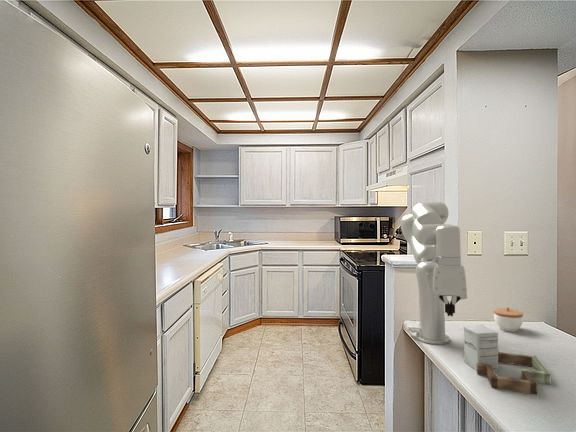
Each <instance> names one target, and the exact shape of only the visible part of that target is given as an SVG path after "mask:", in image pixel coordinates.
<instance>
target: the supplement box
mask: <svg viewBox="0 0 576 432" xmlns="http://www.w3.org/2000/svg"><path fill="white" fill-rule="evenodd" d="M463 349H464V350H463V355H464V356H463V358H464V363H465V364H466V365H469V366H470V367H471V368H472V369H474V370H475V371H477V363H480V364H488V365H491V366H492V368H493V370H498V371H499V362H498V352H499V333H498V332H497V331H496V330H493V329H491V328H489V327H487V326H485V325H484V324H478V325H477V324H476V325H464V326H463Z"/></svg>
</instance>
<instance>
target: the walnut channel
mask: <svg viewBox="0 0 576 432" xmlns="http://www.w3.org/2000/svg"><path fill="white" fill-rule="evenodd" d="M499 362H501V364H508V363H513V364H512V365H516V364H521V365H520V366H524V365H529V366H528V367H532V368H533V369H527V368H520V379H523V376H522V371H528V372H529V373H530V375H531V376H532V378H533V379H534V381H535V382H536V383H539V384H544V385H545V384H546V385H551V383H552V381H551V380H552V379H551V377H552V376H551V373H550V371H549V370H548V369H547V368H546V367H545V365H543V363H542V362H541V360H540V359H538V357H537V356H536V355H530V354H522V353H512V352H511V353H510V352H502V351H498V363H499ZM486 366H488V367H492V366H491V365H488V364H480V363H477V370H476V374H477V375H478V374H479V376H485V375H486V377H487V370H486ZM534 369H535V370H534Z"/></svg>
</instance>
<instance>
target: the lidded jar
mask: <svg viewBox="0 0 576 432" xmlns="http://www.w3.org/2000/svg"><path fill="white" fill-rule="evenodd" d="M493 320H494V321H495V324H496V325H497V326H498V328H499V329H500V330H502V331H505V332H512V333H513V332H514V333H515V332H517V331H518V330H520V328H521V327H522V326H523V322H524V312H522V311H520V310H518V309H514V308H510V307H496V308H494V309H493Z"/></svg>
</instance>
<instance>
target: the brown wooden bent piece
mask: <svg viewBox="0 0 576 432" xmlns="http://www.w3.org/2000/svg"><path fill="white" fill-rule="evenodd" d="M486 370H487V376H486V378H487V380H488V383H489V385H490V387H491V389H498V390H504V391H505V390H506V391H513V392H520V393H526V394H530V395H531V394H533V395H537V394H538V384H537V382H535V381H534V379H533V378H532V376H531V375H530V373H529V372H528V371H522V376H523V379H521V378H515V377H508V376H501V375H496V373H495V372H496V371H494V370H493V368H492V367H488V366H486Z"/></svg>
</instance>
